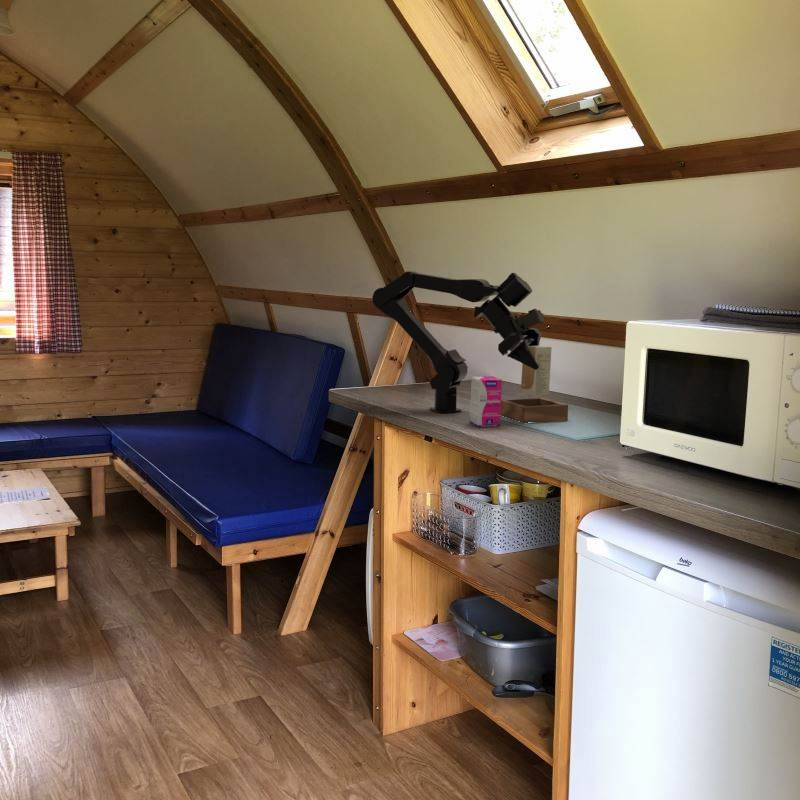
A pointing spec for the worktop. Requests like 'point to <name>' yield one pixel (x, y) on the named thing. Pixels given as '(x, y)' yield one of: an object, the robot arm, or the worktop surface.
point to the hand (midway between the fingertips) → (541, 367)
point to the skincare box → (537, 372)
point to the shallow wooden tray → (534, 410)
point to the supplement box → (485, 401)
